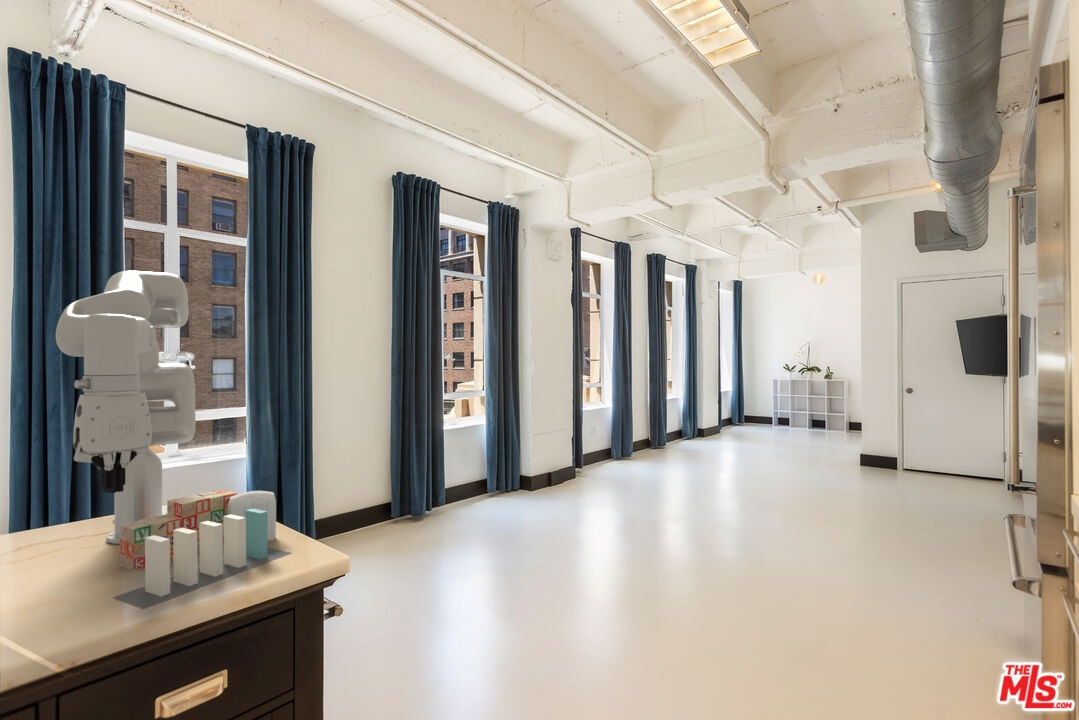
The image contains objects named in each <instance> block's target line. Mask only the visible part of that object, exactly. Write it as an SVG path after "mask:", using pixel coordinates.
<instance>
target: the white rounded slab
mask: <svg viewBox="0 0 1079 720" xmlns="http://www.w3.org/2000/svg"><path fill="white" fill-rule="evenodd" d="M248 509H257V510H263V511H267V542H272V541H275V540H276V538H277V537H276V536H277V532H276V531H277V500H276V497H275V493H274V492H273V491H267V490H266V491H265V490H251V491H245V492H242V493H238V494H237V495H235V496H233V497H230V500H229V503H228V506H227V515H230V514H231V515H236V516H241V517H245V510H248Z"/></svg>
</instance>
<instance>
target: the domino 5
mask: <svg viewBox="0 0 1079 720" xmlns="http://www.w3.org/2000/svg"><path fill="white" fill-rule="evenodd" d="M245 517H246V556H248V557H252V558H256V559H260V560H262V559H264V558H267V547H268V541H267V511H263V510H257V509H248V510H245Z"/></svg>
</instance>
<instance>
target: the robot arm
mask: <svg viewBox="0 0 1079 720" xmlns="http://www.w3.org/2000/svg"><path fill="white" fill-rule="evenodd" d="M189 306H190V305H189V296H188V289H187V287H186V284H185V282H184V281H183V279H182V278H181V277H180V276H178V275H177V274H174V273H170V272H158V271H156V272H155V271H142V270H141V271H140V270H122V271H118V272H116V273H115V274H113V275H112V276H111V277H109V279H108V280H107V283H106V286H105V288H104V290H103V292H102V293H99V294H96V295H91V296H88V297H84V298H81V299H77V300H75V301H73V302H71V303H70V304H68V305H67V306H66V307H65V308H64V309H63V311H62V314H61V316H60V317H59V320H58V322H57V324H56V329H55V342H56V345H57V348H59V350H60V351H61V352H62V353H63V354H65V355H66V356H69V357H76V358H77V357H83V371H84V372H83V375H82V379H76V380H75V381H74V384H73V386H74V388H75V389H81V390H82V392H84V394H80V395H79V398H78V401H77V405H76V410H75V414H74V421H73V422H74V424H73V434H72V435H73V439H72V442H73V448H74V452H75V453H74V456H73V461H75V462H78V463H90V464H92V465H94V466H95V467H97V469H98V470H100V487H101V489H102V491H103V492H104V493H109V494H114V497H113V498H114V499H113V500H114V501H113V502H114V506H113V507H114V510H113V511H114V519H113V520H112V524H114V530H112V532H110V533H108V534H107V535H106V542H107V543H109V544H114V545H115V544H116V545H120V525H121V524H124V523H129V522H133V521H138V520H142V519H147V518H151V517H156V516H161V515H163V462H162V460H161V458H160V457H159V456H158V455H157V454H156V453H155V452H154V451H153V450H152V449H151V448H150V447H152V446H153V447H154V446H161V445H163V446H164V445H174V444H184V443H185V444H186V443H188V442H190V441H192V440H193V438H194V436H195V433H196V421H197V420H196V385H195V384H196V383H195V376H194V372H193V369H192V368H191V367H190V366H189V365H188V364H186V363H180V362H169V363H167V362H165V363H164V362H160V353H159V352H160V346H159V341H158V340H157V331H156V329H155V328H157V329H158V328H161V329H164V328H165V329H166V328H167V329H175V328H177V329H178V328H181V327H184V326H185V325H186V324H187V322H188V320H189V316H190V309H189ZM148 402H172V403H173V404H174V405H171V406H149V403H148ZM112 454H113V455H112ZM112 457H113V458H112Z"/></svg>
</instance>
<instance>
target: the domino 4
mask: <svg viewBox="0 0 1079 720" xmlns="http://www.w3.org/2000/svg"><path fill="white" fill-rule="evenodd" d="M223 536H224V545H223V559H224V564H226V565H230V566H234V567H237V568H240V567H243V566H245V565H246V517H241V516H236V515H231V514H230V515H227V516H223Z"/></svg>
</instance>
